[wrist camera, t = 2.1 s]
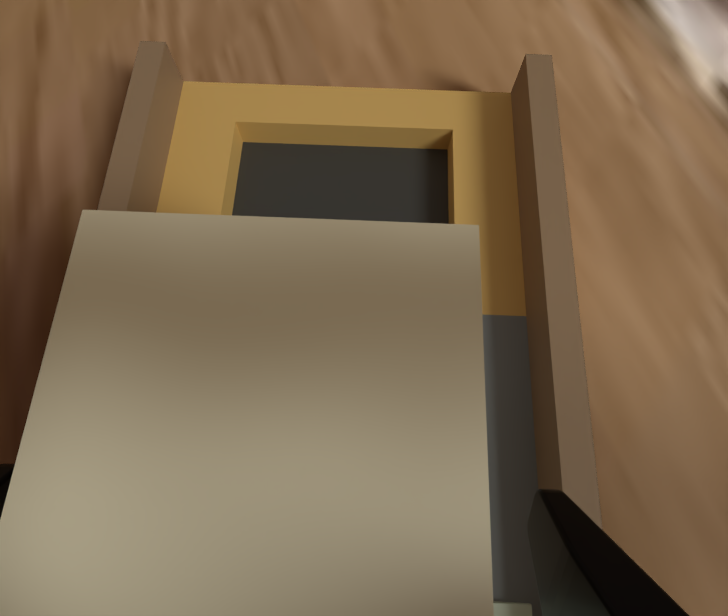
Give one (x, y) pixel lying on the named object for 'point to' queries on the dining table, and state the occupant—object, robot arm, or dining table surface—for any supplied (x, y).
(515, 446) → the trough deck
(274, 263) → the maple block
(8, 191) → the dining table surface
